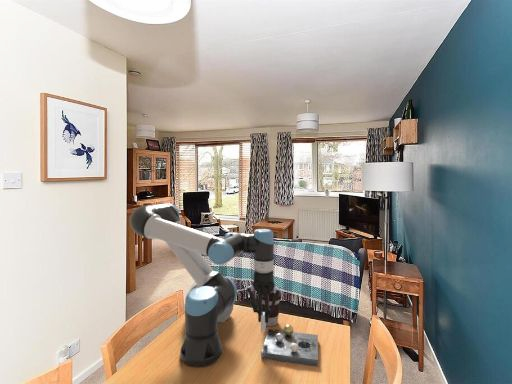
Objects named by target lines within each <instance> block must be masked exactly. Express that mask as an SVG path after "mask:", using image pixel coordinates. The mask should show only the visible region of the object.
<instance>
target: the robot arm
mask: <svg viewBox="0 0 512 384" xmlns="http://www.w3.org/2000/svg"><path fill="white" fill-rule="evenodd" d="M179 211H180V210H179V209H178V208H177V207H176V206H175V205H174V204H172V203H169V202H159V203H156V204H155V203H154V204H149V205H148V204H147V205H141V206H139V207H137V208H135V209H134V210H133V211H132V213H131V215H130V218H129V225H130V228H131V229H132V231H133V232H134V233H136V235H139V236H140V237H143V238H146V239H149V240H150V239H154V238H155V239H158V240H160V241H163V242H165V243H166V244H167V246H168V247H169V249H170V250H171V252H172V253H173V254H174V255H175V256H176V258H177V259H178V261H179V262H180V264H181V265H182V266H183V267H184V269H185V270H186V272H187V273H188V274H189V276H190V277H191V278H192V280H193V281H194V282H196V284H197V288H194V289H192V290H191V291H190V290H189V291H190V292H188V293H187V294H186V296H185V302H184V325H185V326H184V331H185V332H184V333H185V334H184V337H183V341H182V344H181V347H180V349H179V350H180V352H179V353H180V354H179V355H180V360H181V361H182V363H183V364H184V365H186V366H189V367H195V368H200V367H207V366H211V365H212V364H215V363H216V362H218V361H219V359H221V357H222V355H223V345H222V341H221V338H220V336H219V332H218V322H217V319H218V317H219V316H220V315H221V314H222V313H223V312H224V311H225V310H227V309H228V308H229V307H230V306H231V305H232V304H233V302H234V303H235V301H236V300H237V296H238V290H237V289H238V288H237V285H236V283H235V282H234V281H233V279H232V278H231V277H226V276H223V275H222V274H221V272H220V271H217V270H214V269H213V268H212V266H211V265H210V264H209V263H208V261H207V260H206V258H205V257H204V256H206V257H208V259H209V260H210V261H211V262H212V263H213V264H215V265H217V266H218V265H224V264H227V263H229V262H230V261H231V260H233V259H235V258H236V257H238V256H239V255H240V254H250V255H251V254H252V255H253V281H252V284H251V285H248V286H247V288H246V291H247V292H248V294H249V298H250V303H251V306H252V311H253V313H256V314H257V315H258V317H257V318H258V320H257V321H258V323H260V332H261V333H265V332H266V330H267V326H266V323H268V320H269V314H272V313H273V310H274V306H275V302H276V298H277V295H278V294H279V292H280V293H281V288H280V287H277V286H276V284H275V282H274V267H275V265H274V264H275V263H274V262H275V259H274V247H275V240H274V232H273V230H272V229H268V228H257V229H254V231H253V233H243V232H237V231H234V232H227V233H226V234H225V236H224V237H223V238H221V237H219V236H215V235H213V234H210V233H206V232H203V231H201V230H197V229H194V228H191V227H188V226H185V225H182V221H181V217H180V212H179ZM273 289H274V296H273V300H272V304H271V308H270V309H269V294H270V292H271V291H272V290H273ZM254 290H255V291H254ZM255 292H256V293H257V300H256V295H255ZM262 294H263V295H265V312H262V310H263V309H262Z"/></svg>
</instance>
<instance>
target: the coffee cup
mask: <svg viewBox="0 0 512 384" xmlns="http://www.w3.org/2000/svg"><path fill="white" fill-rule="evenodd" d="M273 296H274V289H273V290H272V291H271V292H270V294H269V309H270V308H271V304H272V300H273ZM281 298H282V292H281V291H280V292H279V294H278V295H277V298H276V302H275V306H274V310H273V313H272V314H269V320H268V323H266V327H274V326H277V324H278V323H279V315H280V305H281ZM262 309H263V310H262V312H265V295H263V294H262Z"/></svg>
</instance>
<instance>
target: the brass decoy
mask: <svg viewBox="0 0 512 384" xmlns="http://www.w3.org/2000/svg"><path fill="white" fill-rule="evenodd" d="M282 331H284V333H285V334H286V335H288V336H290V335H292V334H293V332H294V327H293V326H292V325H291V324H285V325H284V326H283V329H282Z"/></svg>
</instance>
